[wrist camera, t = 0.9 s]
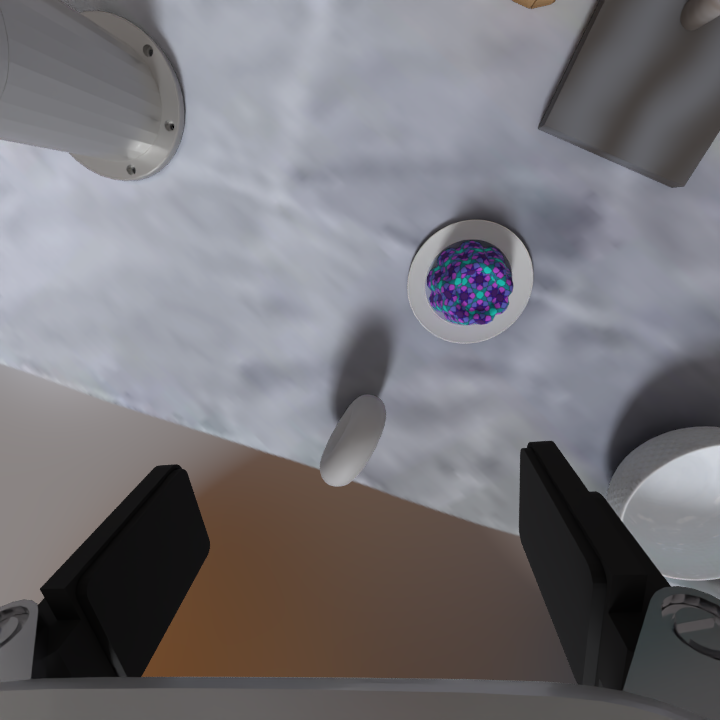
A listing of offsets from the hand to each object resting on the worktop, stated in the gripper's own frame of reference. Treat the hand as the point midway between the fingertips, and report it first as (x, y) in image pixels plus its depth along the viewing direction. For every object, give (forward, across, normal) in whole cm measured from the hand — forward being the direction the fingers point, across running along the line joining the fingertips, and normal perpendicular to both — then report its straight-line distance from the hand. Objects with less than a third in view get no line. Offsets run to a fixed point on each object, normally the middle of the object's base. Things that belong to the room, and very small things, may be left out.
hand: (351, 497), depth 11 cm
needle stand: (+30, -25, -18) cm, 43 cm away
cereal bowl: (+31, -30, +24) cm, 49 cm away
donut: (+31, +4, +14) cm, 34 cm away
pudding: (+31, -9, 0) cm, 32 cm away
